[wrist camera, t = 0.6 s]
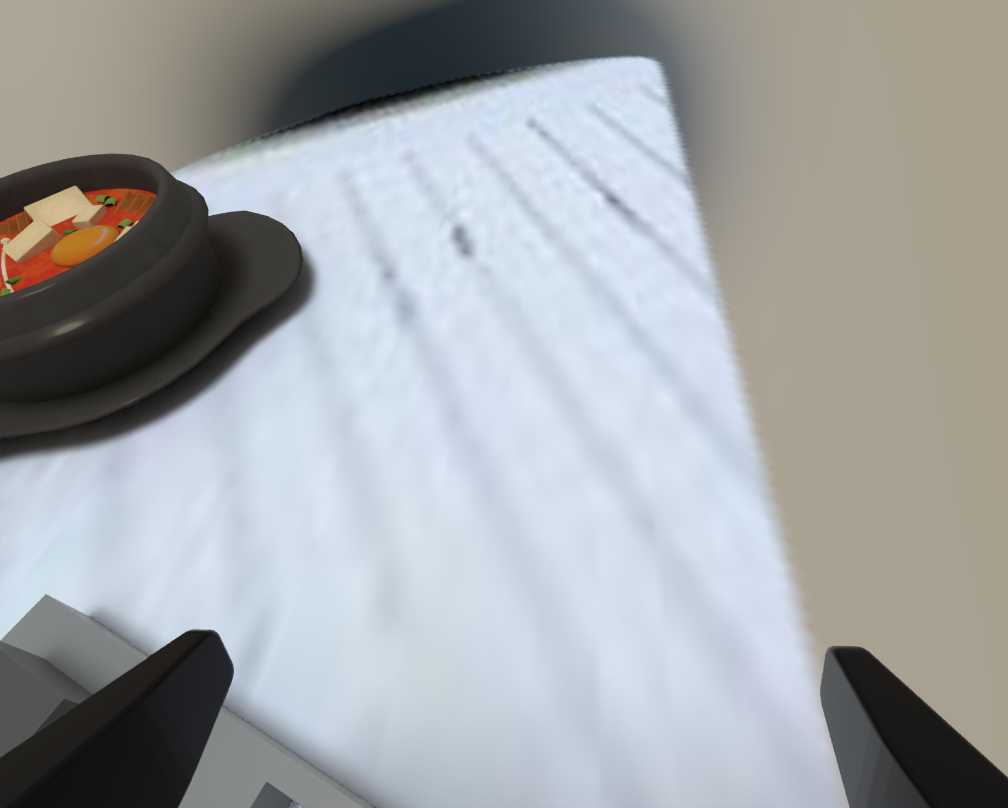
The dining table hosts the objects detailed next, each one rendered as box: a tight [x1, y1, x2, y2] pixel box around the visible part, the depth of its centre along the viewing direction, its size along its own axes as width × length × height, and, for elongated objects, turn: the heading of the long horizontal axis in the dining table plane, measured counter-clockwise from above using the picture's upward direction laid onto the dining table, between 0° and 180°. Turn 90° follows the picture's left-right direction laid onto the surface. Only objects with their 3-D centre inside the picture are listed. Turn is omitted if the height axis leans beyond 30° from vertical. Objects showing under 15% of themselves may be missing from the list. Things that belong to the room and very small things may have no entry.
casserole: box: [0, 154, 303, 439], centre depth 33 cm, size 25×19×8 cm
